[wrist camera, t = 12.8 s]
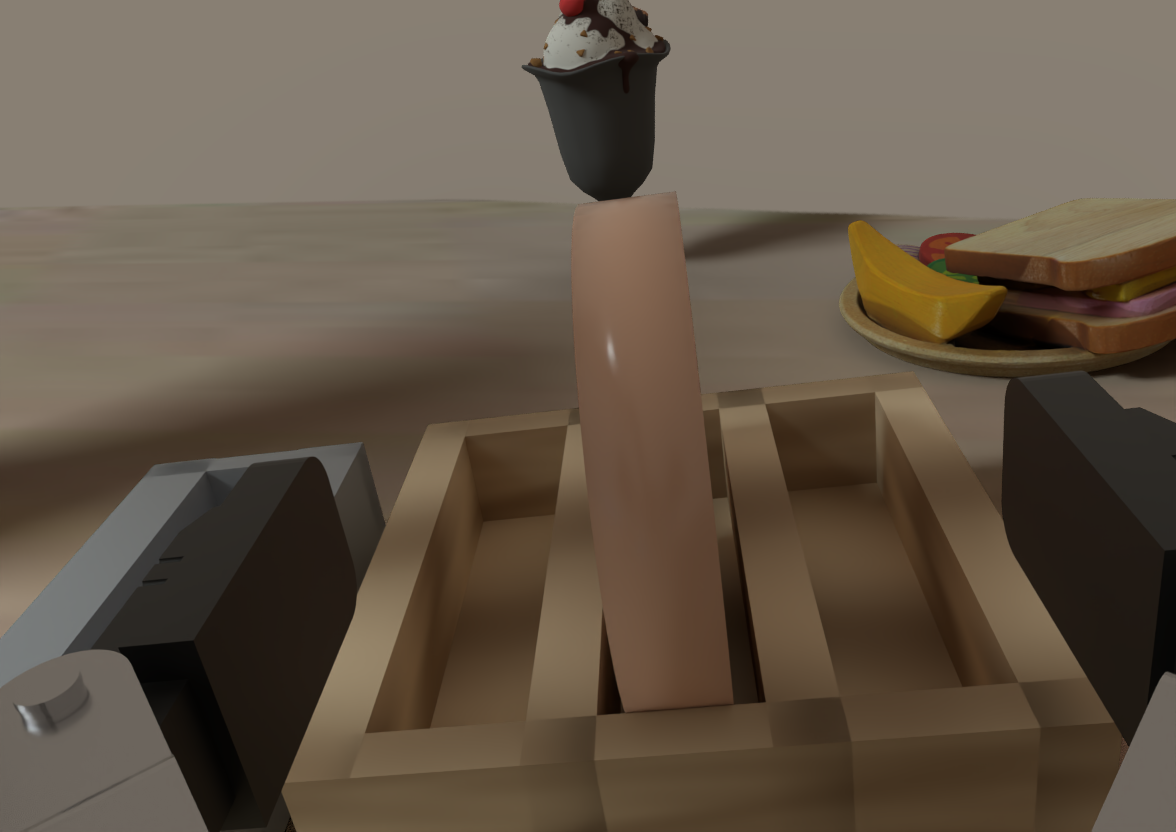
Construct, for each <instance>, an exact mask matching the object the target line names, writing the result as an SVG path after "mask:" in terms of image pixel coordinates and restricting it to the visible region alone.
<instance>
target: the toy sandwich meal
mask: <svg viewBox="0 0 1176 832" xmlns="http://www.w3.org/2000/svg"><path fill="white" fill-rule="evenodd" d="M848 234H849V242H850V248H851V255H852V260H853V266H854V271H855V276H856V277H855V278H854V279H852V280H851V281H850V282H849V283H848V285H847V286H846V287H845V288H844V290H843V292H842V293H841V296H840V300H839V307H840V311H841V314H842V315H843V317H844V319H845V320H846V322H847V323H848V324H849V325H850V326H851V327H852V328H853V329H854V330H855V331H856V332H857V333H858V334H860V335H861V336H863V337H864V338H866V339H867V340H868V341H869V342H870V343H871V344H872V345H874V346H875V347H876V348H878V349H880V350H881V351H883V352H885V353H887V354H889V355H891V356H894V357H896V358H898V359H901V360H904V361H907V362H909V363H913V364H916V365H920V366H924V367H928V368H932V369H937V370H942V371H948V372H953V373H961V374H968V375H978V376H992V377H1029V376H1037V375H1046V374H1055V373H1064V372H1073V371H1085V372H1091V371H1097V370H1102V369H1106V368H1111V367H1115V366H1119V365H1122V364H1126V363H1129V362H1132V361H1135V360H1138V359H1140V358H1143V357H1145V356H1148V355H1150V354H1152V353H1154V352H1156V351H1158V350H1159V349H1161V348H1162V347H1164V346H1166V345H1167V344H1168V343H1169V342H1171V341H1172V340H1173V339H1176V200H1174V199H1129V198H1128V199H1127V198H1126V199H1125V198H1122V199H1120V198H1119V199H1118V198H1116V199H1114V198H1113V199H1107V198H1106V199H1104V198H1087V199H1078V200H1073V201H1070V202H1067V203H1064V204H1061V205H1058V206H1056V207H1053V208H1050V209H1048V210H1045V211H1042V212H1039V213H1036V214H1033V215H1031V216H1028V217H1025V218H1023V219H1020V220H1017V221H1014V222H1011V223H1009V224H1006V225H1003V226H1001V227H998V228H995V229H992V230H989V231H986V232H984V233H981V234H979V235H974V234H966V233H946V234H939V235H935V236H932V237H930V238H928V239H926V240H925V241H924V242H923V243H922V244H921V247H918V246H913V245H901V244H893V243H892V242H890V241H889V240H888V239H886V238H885V237H883V236H882V235H881V234H880V233H879V232H877V231H876V230H875V229H874V228H873V227H872V226H870V225H869V224H868V223H866V222H865V221H861V220H859V221H856V222H853V223H851V224H850V225H849V226H848Z"/></svg>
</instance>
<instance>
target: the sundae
mask: <svg viewBox="0 0 1176 832" xmlns="http://www.w3.org/2000/svg"><path fill="white" fill-rule="evenodd" d="M559 4H560V5H559V6H560V10H561V13H560V16H559V18H558V19H557V20H556V21H555V24H554V26H553V28H552V30H551V31H550V33H549V36H548V38H547V40H546V43H545V46H544V56H543V58H542V59H540V58H539V59H538V58H536V59H535V58H534V59H531V61H530V63H529V64H528V65H522V68H523V69H524V70H526V71H527V72H529V73H531V74H533V75H535V77H536V78H537V79H538V81H539V83H540V86H541V89H542V92H543V95H544V98H545V101H546V104H547V107H548V110H549V114H550V117H551V121H552V124H553V128H554V132H555V135H556V139H557V142H558V146H559V149H560V153H561V156H562V158H563V161H564V164H565V167H566V169H567V172H568V174H569V177H570V180H571V181H572V182H573V183H574V184H575V185H576V186H577V187H579V188H580V189H581V190H582V191H583V192H585V193H586V194H588V195H590V196H592V197H593V198H595V199H596V200H598V201H606V200H614V199H621V198H629V197H631V196H632V195H633V193H634V192H635V191H636V190H637V189H638V188H639V187H640V186H641V185H642V184H643V182H644V181H645V179H646V177H647V176H648V174H649V173H650V171H651V169H652V165H653V154H654V142H655V86H656V72H657V65H658V64H659V62H660V61H661V60H662V59H664V58H665V57H666V56H667V55H668V54H669V52H670V44H669V43H668V41H666V40H664V39H663V37H660V36H658V35H655V36H654V35H653V34H652V32H651V30H652V29H651V28H649V27H647V26H648V14H647V13H646V12H645V11H643V10H640V9H638V8H635V7H634V6H632V5H631V4H630V2H629V1H628V0H560V3H559Z"/></svg>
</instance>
